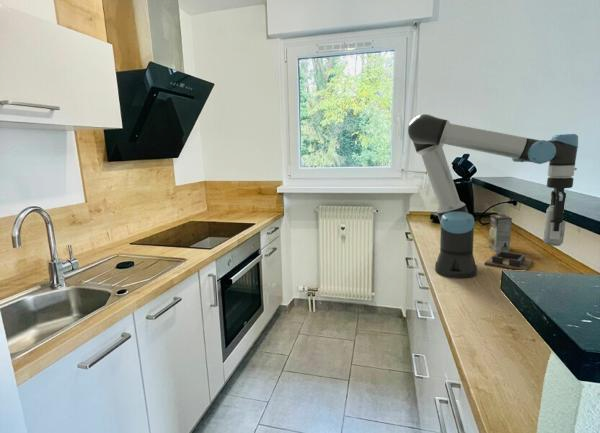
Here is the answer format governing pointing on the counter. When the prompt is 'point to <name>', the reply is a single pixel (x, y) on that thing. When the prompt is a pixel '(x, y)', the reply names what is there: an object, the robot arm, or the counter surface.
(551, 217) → the energy drink can
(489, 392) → the counter surface
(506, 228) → the coffee box
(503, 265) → the socket board
